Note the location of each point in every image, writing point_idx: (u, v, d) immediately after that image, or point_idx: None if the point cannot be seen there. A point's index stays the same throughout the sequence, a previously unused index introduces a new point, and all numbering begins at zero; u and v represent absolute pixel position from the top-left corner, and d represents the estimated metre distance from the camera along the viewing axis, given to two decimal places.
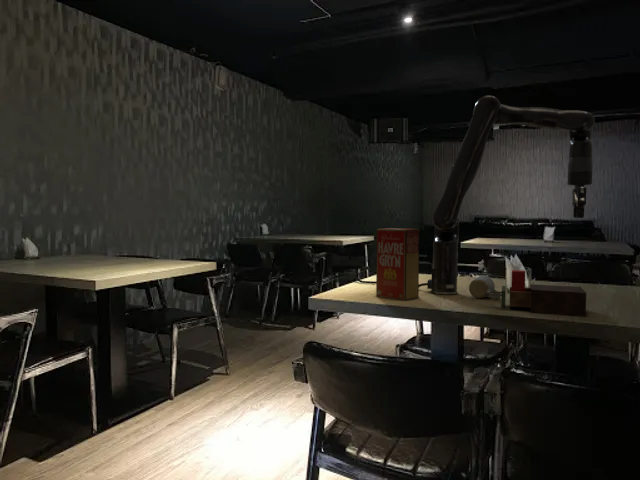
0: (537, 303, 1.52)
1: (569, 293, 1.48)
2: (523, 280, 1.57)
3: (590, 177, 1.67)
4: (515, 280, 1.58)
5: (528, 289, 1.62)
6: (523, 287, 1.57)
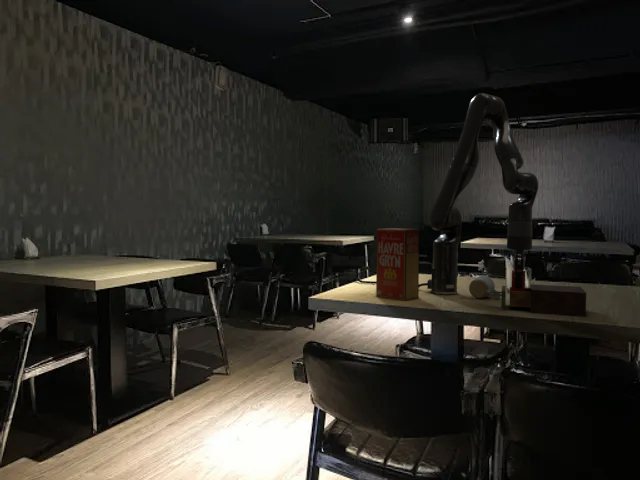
0: (537, 303, 1.52)
1: (569, 293, 1.48)
2: (523, 280, 1.57)
3: (529, 242, 1.55)
4: None
5: (528, 289, 1.62)
6: (523, 287, 1.57)
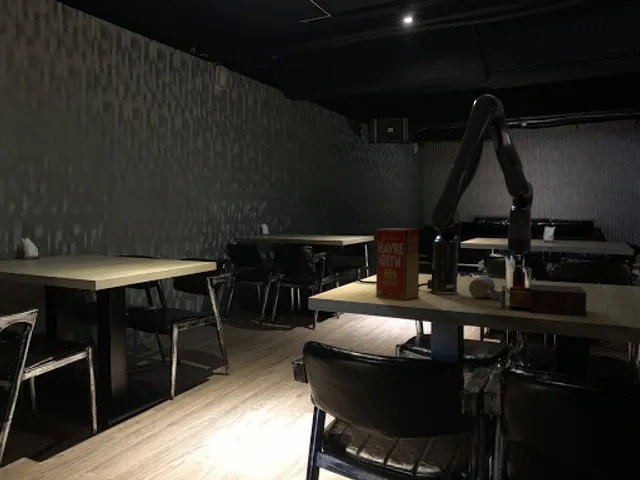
0: (537, 303, 1.52)
1: (569, 293, 1.48)
2: (523, 280, 1.71)
3: (528, 244, 1.69)
4: None
5: (528, 289, 1.62)
6: (523, 287, 1.71)
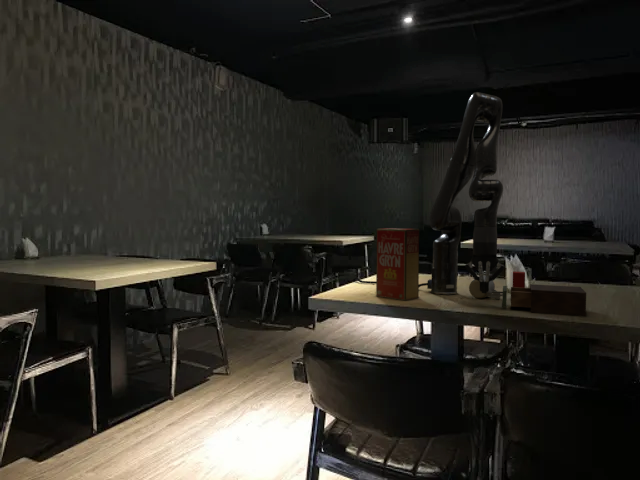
0: (537, 303, 1.52)
1: (569, 293, 1.48)
2: (523, 280, 1.71)
3: (477, 248, 1.59)
4: (515, 280, 1.72)
5: (529, 290, 1.62)
6: (523, 287, 1.71)
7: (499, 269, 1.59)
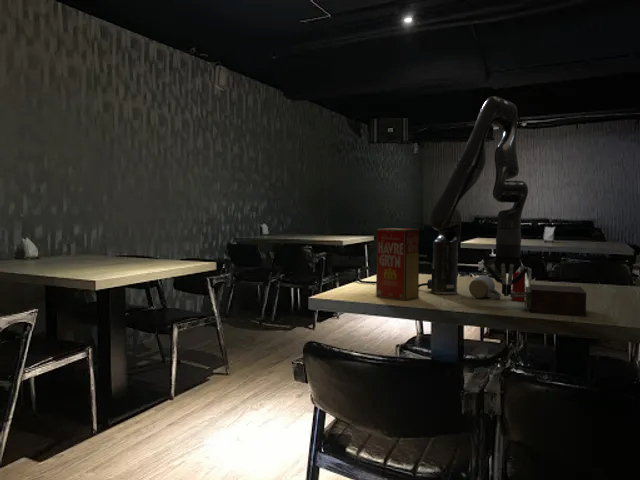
0: (537, 303, 1.52)
1: (569, 293, 1.48)
2: (523, 280, 1.71)
3: (500, 250, 1.57)
4: None
5: None
6: (523, 287, 1.71)
7: (522, 272, 1.56)
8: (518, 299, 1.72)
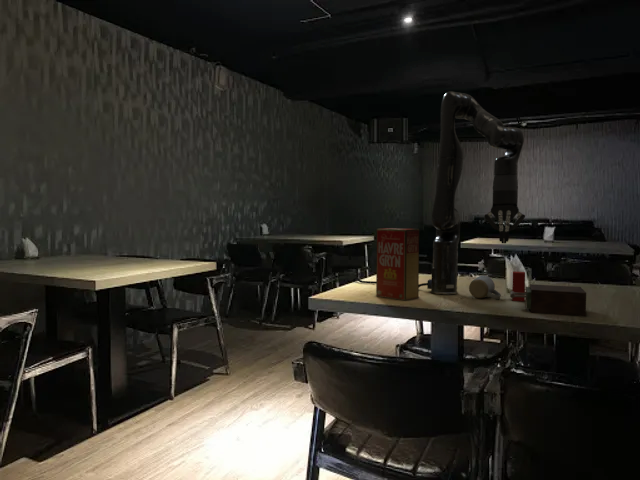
0: (537, 303, 1.52)
1: (569, 293, 1.48)
2: (523, 280, 1.71)
3: (497, 197, 1.57)
4: (515, 280, 1.72)
5: None
6: (523, 287, 1.71)
7: (520, 218, 1.56)
8: (518, 299, 1.72)
